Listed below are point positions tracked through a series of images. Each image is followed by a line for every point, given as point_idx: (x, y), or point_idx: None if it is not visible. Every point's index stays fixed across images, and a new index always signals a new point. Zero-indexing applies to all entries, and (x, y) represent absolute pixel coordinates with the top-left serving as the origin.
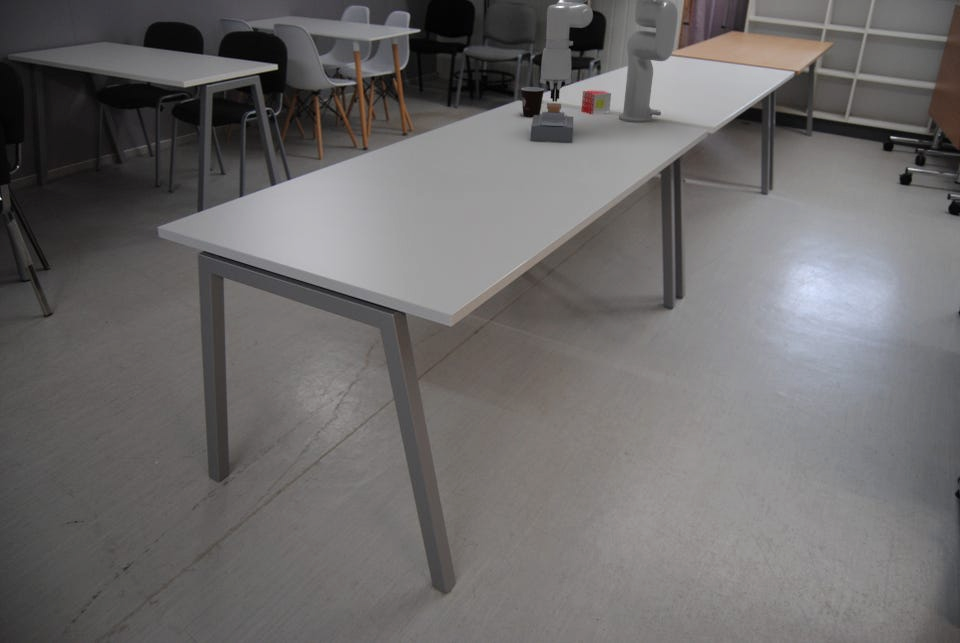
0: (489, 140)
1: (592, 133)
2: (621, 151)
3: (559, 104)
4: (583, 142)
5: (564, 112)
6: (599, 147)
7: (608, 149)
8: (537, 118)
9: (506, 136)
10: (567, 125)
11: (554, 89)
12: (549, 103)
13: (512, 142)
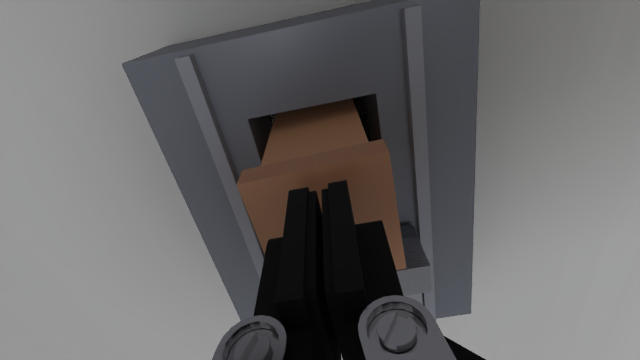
0: (108, 327)
1: (575, 16)
2: (635, 307)
3: (380, 199)
4: (495, 238)
5: (429, 267)
6: (557, 286)
7: (589, 299)
8: (208, 179)
9: (128, 255)
10: (437, 286)
11: (323, 351)
12: (266, 190)
13: (204, 325)
